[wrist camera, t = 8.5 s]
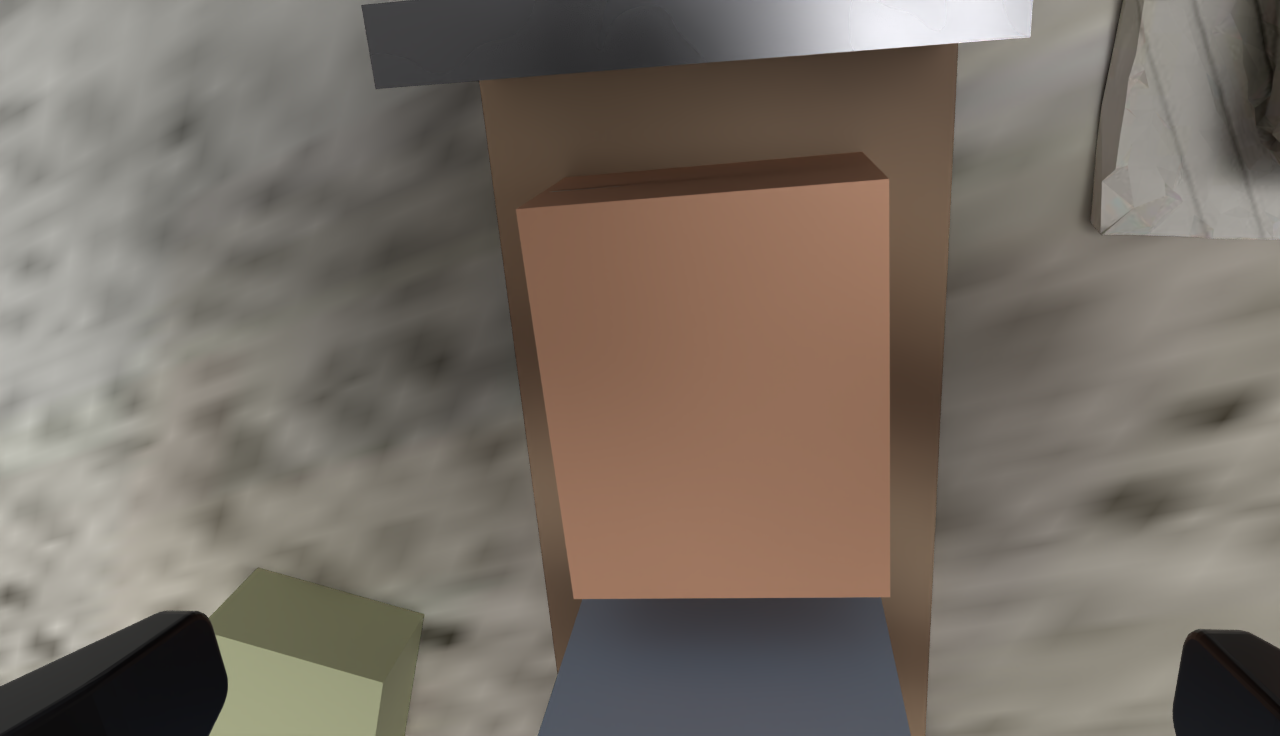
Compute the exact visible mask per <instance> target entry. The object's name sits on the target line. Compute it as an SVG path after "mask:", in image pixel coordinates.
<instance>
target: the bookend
mask: <svg viewBox="0 0 1280 736" xmlns="http://www.w3.org/2000/svg"><path fill="white" fill-rule="evenodd" d="M361 6H362V11H363V17H364V23H365V29H366V35H367V40H368V46H369V52H370V58H371V64H372V70H373V75H374V81H375V87H376V89H380V88H393V87H406V86H418V85H431V84H444V83H456V82H469V81H482V80H494V79H507V78H520V77H532V76H545V75H558V74H570V73H583V72H596V71H608V70H621V69H634V68H647V67H659V66H672V65H685V64H697V63H710V62H723V61H735V60H748V59H761V58H773V57H786V56H799V55H811V54H824V53H837V52H850V51H862V50H875V49H888V48H900V47H913V46H926V45H938V44H951V43H964V42H976V41H989V40H1002V39H1014V38H1027V37H1030V35H1031V22H1032V8H1033V0H410V1H400V2H389V3H378V4H368V5H361Z"/></svg>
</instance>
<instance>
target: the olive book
mask: <svg viewBox="0 0 1280 736" xmlns="http://www.w3.org/2000/svg"><path fill="white" fill-rule="evenodd" d="M209 619H210V621H211V623H212V625H213V629H214V632H215V635H216V639H217V642H218V646H219V649H220V652H221V656H222V659H223V663H224V666H225V669H226V673H227V677H228V692H227V697H226V700H225V703H224V706H223V708H222V710H221V712H220V714H219V716H218V718H217V720H216V722H215V724H214V727H213V729H212V731H211V733H210V735H209V736H405V729H406V723H407V717H408V711H409V705H410V699H411V693H412V687H413V680H414V674H415V668H416V662H417V656H418V650H419V644H420V638H421V631H422V625H423V619H424V614H421V613H418V612H414V611H410V610H407V609H403V608H400V607H396V606H393V605H389V604H385V603H382V602H378V601H375V600H371V599H368V598H364V597H361V596H357V595H353V594H350V593H346V592H343V591H339V590H336V589H332V588H329V587H325V586H321V585H318V584H314V583H311V582H307V581H304V580H300V579H296V578H293V577H289V576H286V575H282V574H279V573H275V572H272V571H268V570H264V569H261V568H257V569H256V570H255V571H254V572H253V573H252V574H251V575H250V576H249V577H248V578H247V579H246V580H245V581H244V582H243V583H242V584H241V585H240V586H239V587H238V589H237V590H236V591H235V592H234V593H233V594H232V595H231V596H230V597H229V598H228V599H227V600H226V601H225V602H224V603H223V604H222V605H221V606H220V607H219V608H218V609H217V610H216V611H215V612H214V613H213V614H212V615H211V616H210V617H209Z"/></svg>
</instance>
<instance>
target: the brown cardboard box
mask: <svg viewBox="0 0 1280 736" xmlns="http://www.w3.org/2000/svg"><path fill="white" fill-rule="evenodd" d="M516 215H517V221H518V228H519V235H520V242H521V248H522V255H523V262H524V268H525V275H526V282H527V289H528V295H529V302H530V309H531V315H532V322H533V329H534V336H535V342H536V349H537V356H538V362H539V369H540V376H541V383H542V389H543V396H544V403H545V409H546V416H547V423H548V430H549V436H550V443H551V450H552V456H553V463H554V470H555V477H556V483H557V490H558V497H559V503H560V510H561V517H562V524H563V530H564V537H565V544H566V550H567V557H568V564H569V571H570V577H571V584H572V591H573V597H574V599H672V598H845V597H890V289H889V178H888V177H887V176H886V175H885V174H884V173H883V172H882V171H881V170H880V169H879V168H878V167H877V166H876V165H875V164H874V163H873V162H872V161H871V160H870V159H869V158H868V157H867V156H866V155H865V154H864V153H863V152H853V153H841V154H830V155H818V156H807V157H795V158H784V159H772V160H760V161H749V162H737V163H726V164H714V165H703V166H691V167H680V168H668V169H656V170H645V171H633V172H622V173H610V174H599V175H587V176H576V177H565V178H563V179H562V180H560V181H559V182H557V183H556V184H554V185H552V186H551V187H549V188H548V189H546V190H545V191H543V192H542V193H540V194H539V195H537V196H535V197H534V198H532V199H531V200H529V201H528V202H526V203H525V204H523V205H522V206H520V207H518V208H517V209H516Z"/></svg>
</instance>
